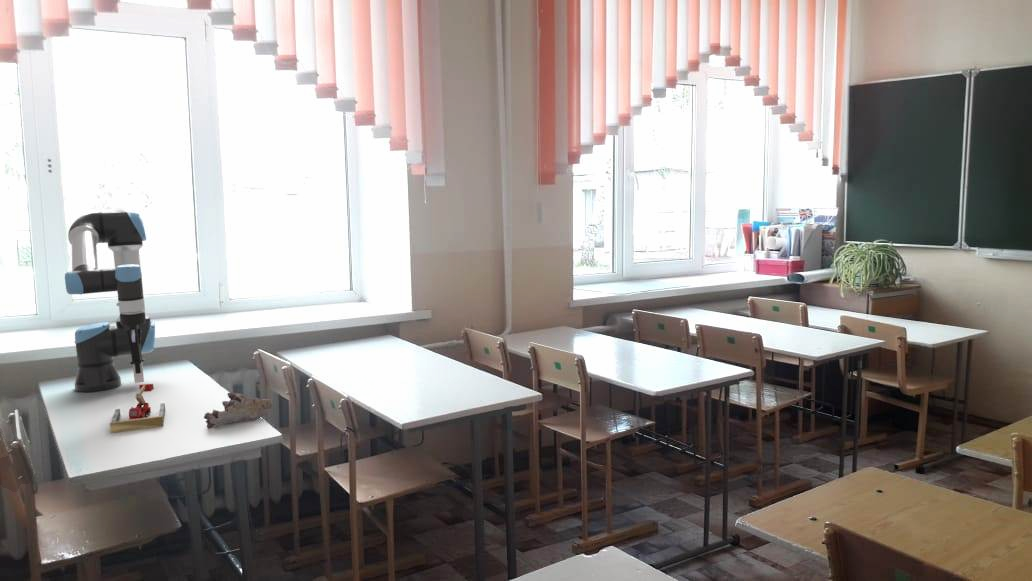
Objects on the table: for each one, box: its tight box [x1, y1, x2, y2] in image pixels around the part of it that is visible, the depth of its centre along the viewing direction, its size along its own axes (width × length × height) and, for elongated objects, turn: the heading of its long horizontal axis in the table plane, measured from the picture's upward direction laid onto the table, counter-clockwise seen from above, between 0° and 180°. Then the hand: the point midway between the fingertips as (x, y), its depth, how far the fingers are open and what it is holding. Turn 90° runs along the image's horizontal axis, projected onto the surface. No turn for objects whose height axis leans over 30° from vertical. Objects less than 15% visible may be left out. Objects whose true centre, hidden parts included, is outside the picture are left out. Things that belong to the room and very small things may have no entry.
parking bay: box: [109, 402, 166, 434], centre depth 243 cm, size 18×14×3 cm
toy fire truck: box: [128, 383, 155, 420], centre depth 247 cm, size 3×14×10 cm, turn 5°
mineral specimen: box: [203, 391, 273, 430], centre depth 240 cm, size 20×10×10 cm
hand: (139, 381), depth 256 cm, fingers closed
